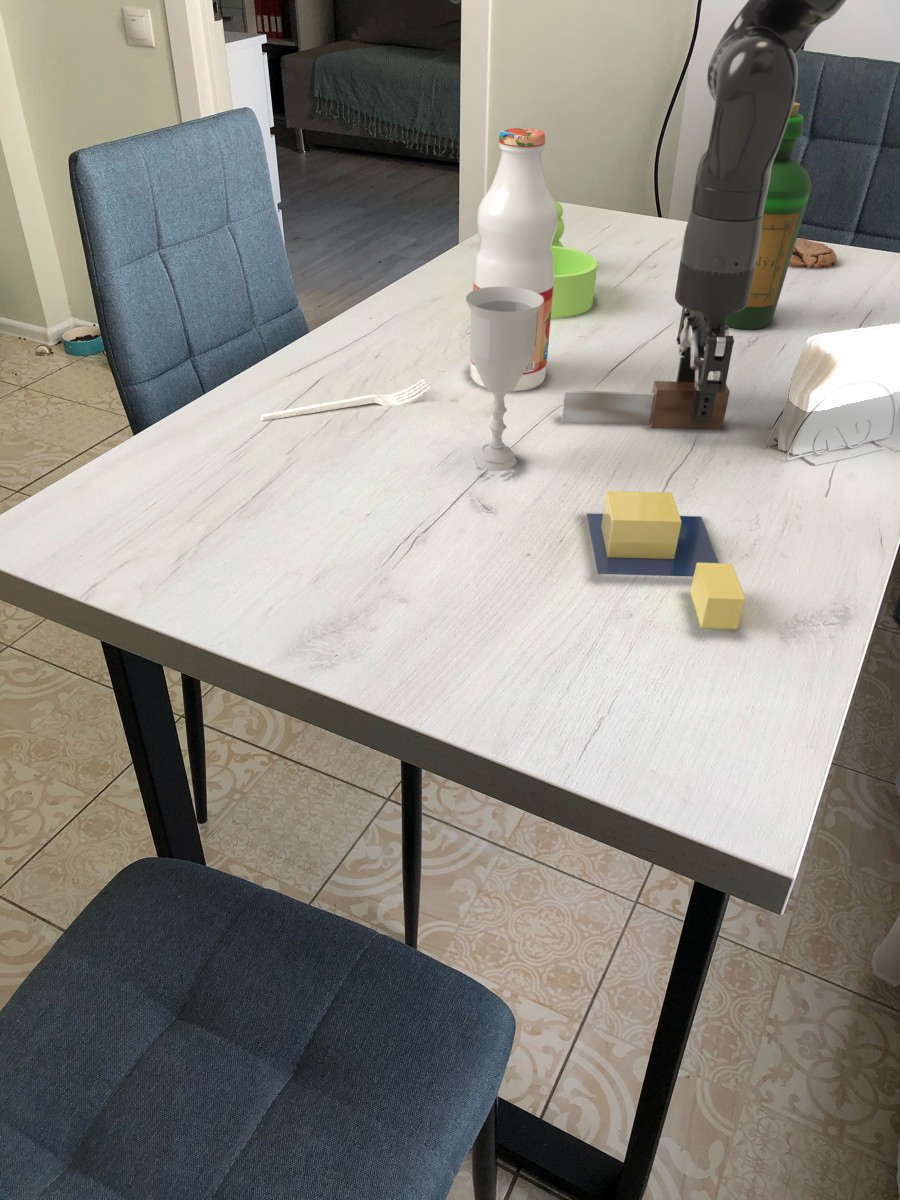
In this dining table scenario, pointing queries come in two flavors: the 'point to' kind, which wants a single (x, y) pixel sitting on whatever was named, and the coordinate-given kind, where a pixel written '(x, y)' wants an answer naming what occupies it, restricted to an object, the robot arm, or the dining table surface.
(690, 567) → the butter dish
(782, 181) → the bottle
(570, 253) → the food container
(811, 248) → the cookie
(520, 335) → the chalice
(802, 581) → the dining table surface
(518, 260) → the fruit juice
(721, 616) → the butter slice
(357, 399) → the fork
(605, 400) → the knife
